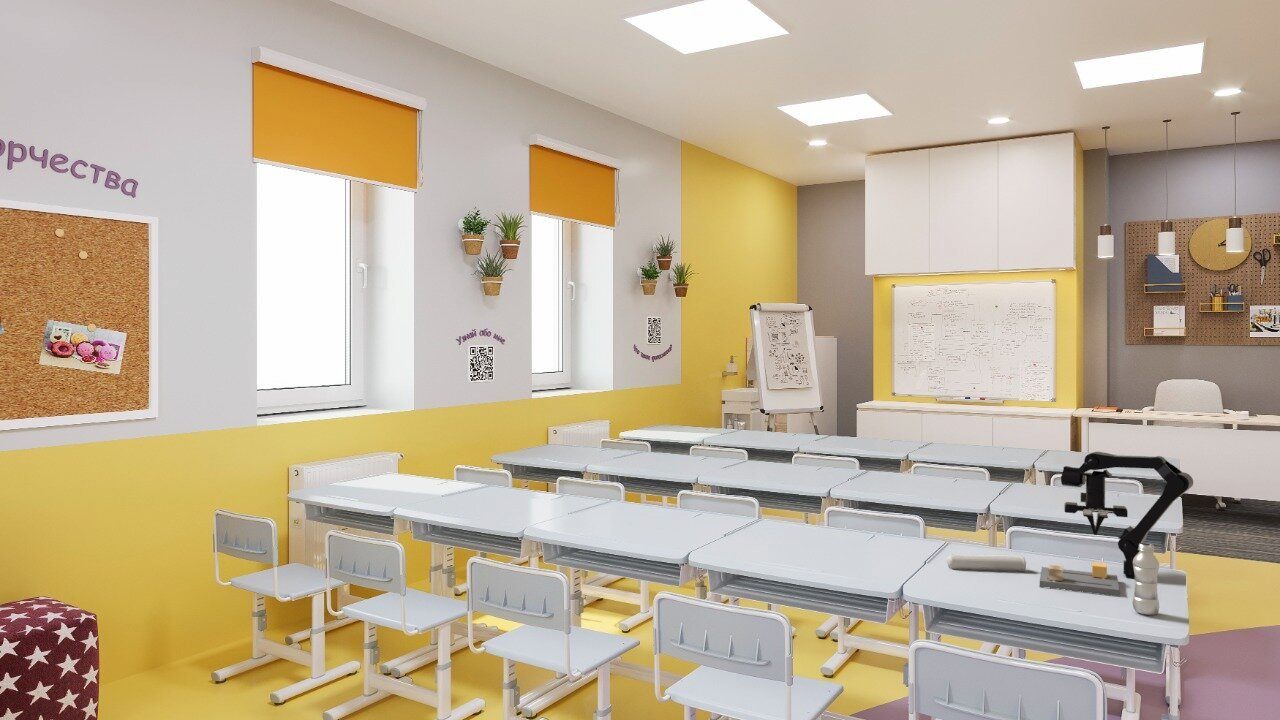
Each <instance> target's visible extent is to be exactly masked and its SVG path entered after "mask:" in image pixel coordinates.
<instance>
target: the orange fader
mask: <svg viewBox="0 0 1280 720" xmlns="http://www.w3.org/2000/svg"><path fill="white" fill-rule="evenodd" d="M1107 569H1108V567H1107V563H1104V562H1095V561H1092V563H1091V572H1092V577H1100V578H1107V574H1108V571H1107Z"/></svg>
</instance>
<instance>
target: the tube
mask: <svg viewBox="0 0 1280 720" xmlns="http://www.w3.org/2000/svg"><path fill="white" fill-rule="evenodd" d="M946 564H947V567H948V568H950V569H951V568H952V570H966V569H971V570H972V571H991V570H998V572H1017V571H1024V572H1023V573H1026V569H1027V561H1026V558H1025V556H1023V555H1020V556H1019V555H1018V556H1017V555H1014V556H1012V555H985V554H984V555H982V554H981V555H979V554H976V555H975V554H950V555H949V556H948V557H947V558H946Z"/></svg>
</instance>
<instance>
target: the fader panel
mask: <svg viewBox="0 0 1280 720" xmlns="http://www.w3.org/2000/svg"><path fill="white" fill-rule="evenodd" d="M1044 587H1050V588H1049V589H1053V588H1059V589H1058V590H1061V589H1065V590H1064V591H1069V590H1072V591H1071V592H1077V591H1081V592H1080V593H1086V592H1092V593H1091V594H1094V593H1099V594H1098V595H1102V594H1104V596H1111V595H1112V596H1111V597H1120V585H1119V579H1118V575H1116V574H1108V573H1107V578H1100V577H1092V571H1091V572H1090V571H1084V570H1083V571H1081V570H1073V569H1065V568H1063V581H1057V580H1049V567H1046V566H1045V567H1044V566H1042V567H1041V571H1040V576H1039V588H1044ZM1082 591H1083V592H1082Z"/></svg>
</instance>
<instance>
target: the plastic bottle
mask: <svg viewBox="0 0 1280 720" xmlns="http://www.w3.org/2000/svg"><path fill="white" fill-rule="evenodd" d="M1138 550H1139V553H1138V554H1137V555H1136V556H1135V557H1134V559H1133V567H1134V574H1135V578H1134V580H1135V581H1134V593H1133V594H1134V595H1133V599H1132V607H1133V609H1134V612H1136V613H1139V614H1141V615H1147V616H1155V615H1157V614H1158V613H1159V611H1160V608H1161V607H1160V601H1159V596H1158V576H1159V570H1160V569H1159V568H1160V562H1159V560H1158V558H1157V557H1156V556H1155V555H1156V554H1154V552H1155V545H1154V544H1152V543H1149V542H1144V543H1139V548H1138Z"/></svg>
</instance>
